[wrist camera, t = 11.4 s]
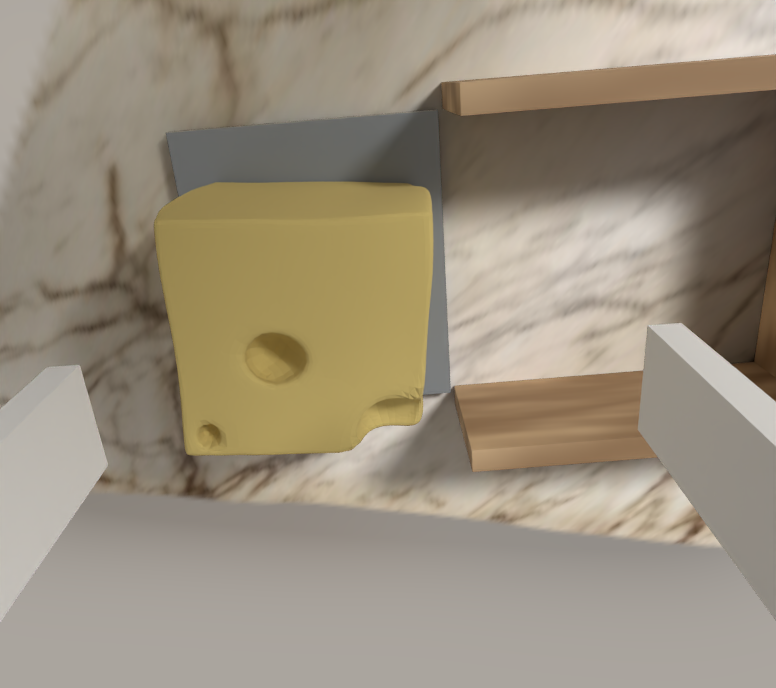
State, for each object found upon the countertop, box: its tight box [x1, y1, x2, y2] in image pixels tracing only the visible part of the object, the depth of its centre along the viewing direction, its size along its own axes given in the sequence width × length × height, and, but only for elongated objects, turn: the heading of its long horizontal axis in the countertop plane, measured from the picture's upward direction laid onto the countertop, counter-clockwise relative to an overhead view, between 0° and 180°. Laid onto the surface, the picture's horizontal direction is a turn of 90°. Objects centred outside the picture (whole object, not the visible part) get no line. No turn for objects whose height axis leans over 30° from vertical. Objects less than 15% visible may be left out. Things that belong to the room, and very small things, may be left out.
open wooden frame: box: [441, 54, 776, 472], centre depth 31 cm, size 17×18×7 cm
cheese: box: [154, 182, 433, 455], centre depth 29 cm, size 10×11×10 cm
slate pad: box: [166, 110, 451, 395], centre depth 34 cm, size 15×13×1 cm
